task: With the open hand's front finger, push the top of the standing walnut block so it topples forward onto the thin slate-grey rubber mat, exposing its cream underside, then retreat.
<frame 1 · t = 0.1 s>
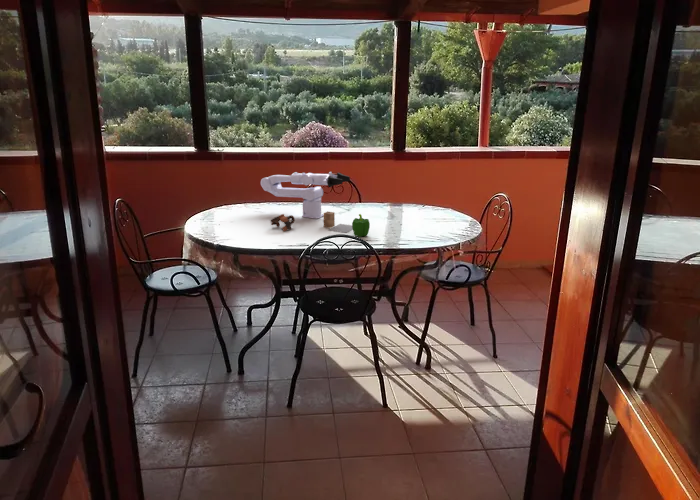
hand: (345, 180, 277), 22 cm above the table, tool horizontal, fingers open, 7 cm apart
slate mat: (343, 228, 272), on the table
walnut block: (329, 226, 275), on the table
brown irregular piece: (283, 228, 272), on the table
bell pepper: (360, 235, 261), on the table
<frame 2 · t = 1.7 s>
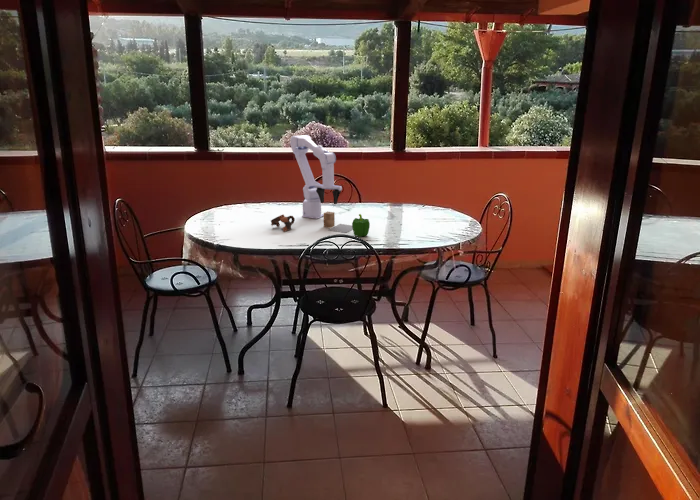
hand: (328, 203, 279), 10 cm above the table, tool pointing down, fingers open, 7 cm apart
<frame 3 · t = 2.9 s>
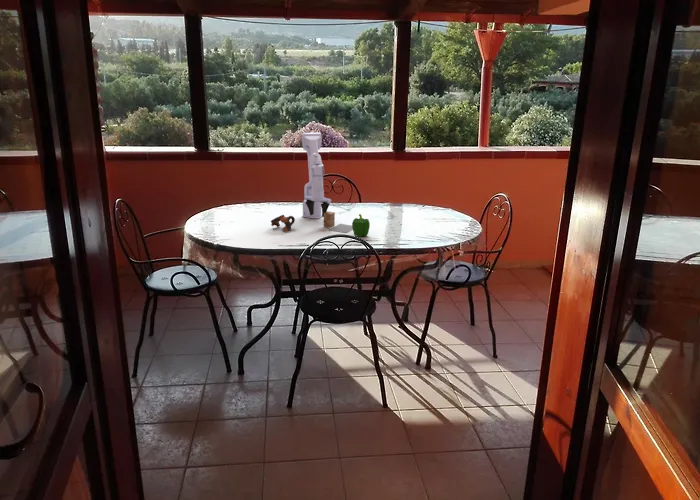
hand: (317, 215, 277), 5 cm above the table, tool pointing down, fingers open, 7 cm apart
walnut block: (329, 226, 275), on the table, touching gripper
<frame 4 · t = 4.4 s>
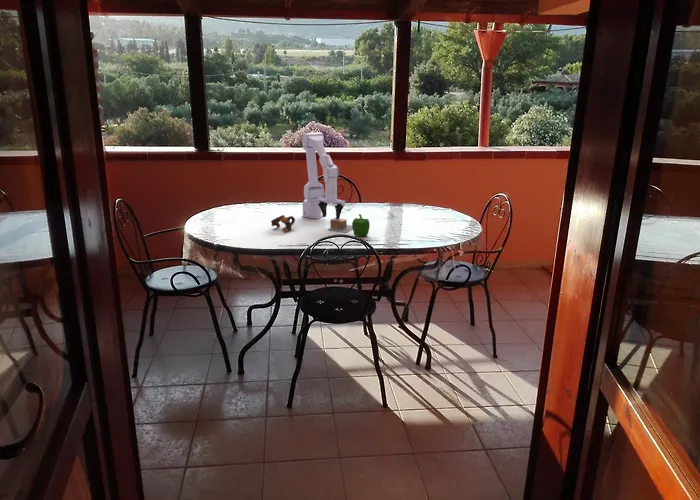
hand: (331, 217, 273), 5 cm above the table, tool pointing down, fingers open, 7 cm apart
walnut block: (332, 222, 274), point 2 cm above the table, tilted 90°, touching slate mat
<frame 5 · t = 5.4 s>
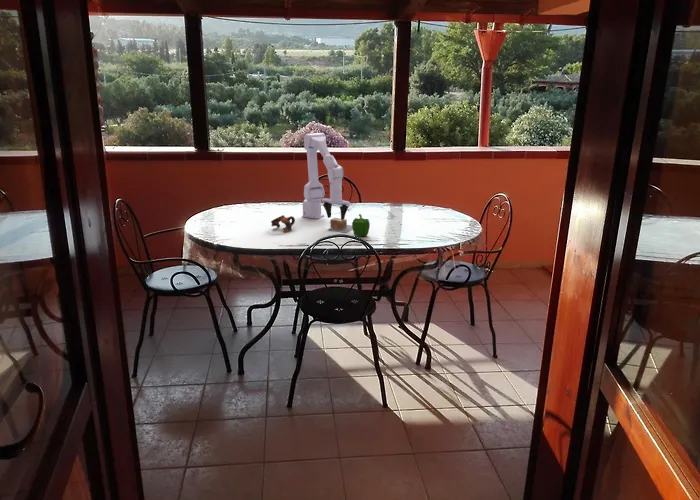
hand: (336, 218, 272), 5 cm above the table, tool pointing down, fingers open, 7 cm apart
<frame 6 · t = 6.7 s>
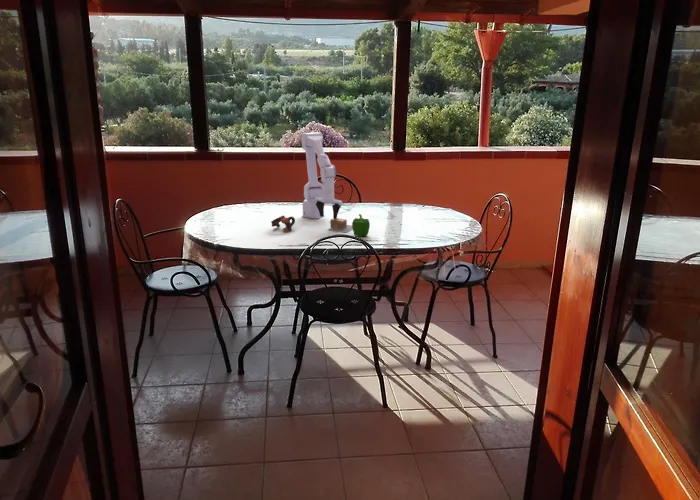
hand: (328, 217, 274), 5 cm above the table, tool pointing down, fingers open, 7 cm apart
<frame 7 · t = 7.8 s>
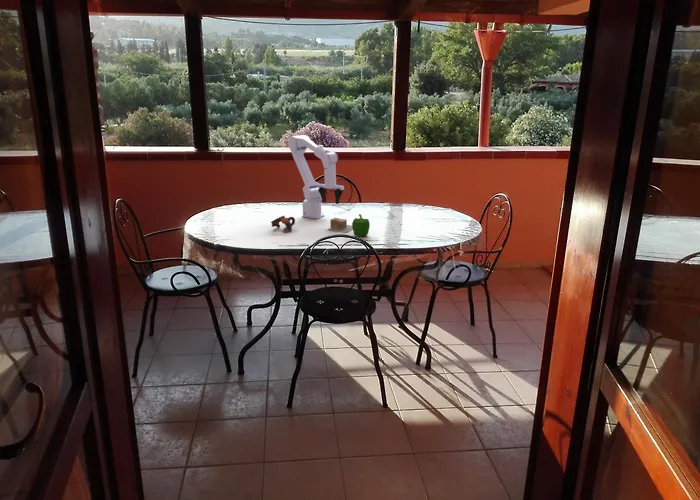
hand: (330, 202, 280), 10 cm above the table, tool pointing down, fingers open, 7 cm apart
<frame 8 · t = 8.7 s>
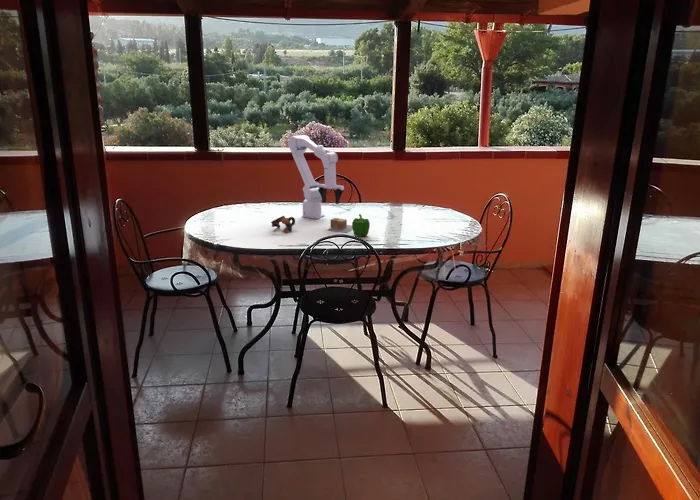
hand: (330, 202, 280), 10 cm above the table, tool pointing down, fingers open, 7 cm apart
at the end: walnut block tilted 90°; walnut block inside the target area (5.1 cm from its centre), point 2.2 cm above the table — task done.
